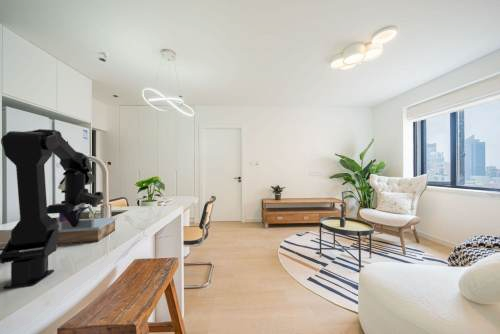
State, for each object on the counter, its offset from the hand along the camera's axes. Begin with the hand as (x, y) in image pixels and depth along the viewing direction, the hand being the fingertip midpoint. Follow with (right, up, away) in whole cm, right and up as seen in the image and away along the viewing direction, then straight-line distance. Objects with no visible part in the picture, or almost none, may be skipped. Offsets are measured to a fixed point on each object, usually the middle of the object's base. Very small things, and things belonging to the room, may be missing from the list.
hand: (74, 226), depth 71 cm
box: (-2, -7, +8) cm, 11 cm away
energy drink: (-18, -8, +15) cm, 24 cm away
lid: (-2, -2, +8) cm, 9 cm away
